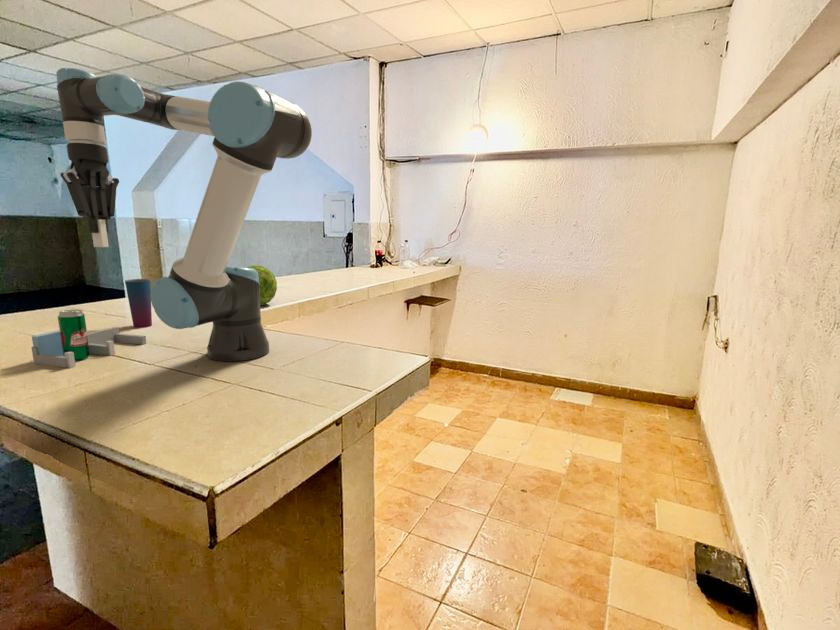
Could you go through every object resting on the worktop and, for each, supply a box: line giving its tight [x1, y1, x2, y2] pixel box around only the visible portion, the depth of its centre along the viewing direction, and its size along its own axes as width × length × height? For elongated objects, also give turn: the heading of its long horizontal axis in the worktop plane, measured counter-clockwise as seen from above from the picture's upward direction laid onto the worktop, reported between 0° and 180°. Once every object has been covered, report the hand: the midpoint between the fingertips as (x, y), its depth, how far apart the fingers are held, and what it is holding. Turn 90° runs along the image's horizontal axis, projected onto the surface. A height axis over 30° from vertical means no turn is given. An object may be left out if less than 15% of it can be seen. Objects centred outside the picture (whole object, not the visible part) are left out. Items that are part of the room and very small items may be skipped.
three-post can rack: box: [30, 326, 147, 369], centre depth 109 cm, size 11×22×6 cm, turn 167°
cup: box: [124, 278, 153, 329], centre depth 137 cm, size 7×7×15 cm
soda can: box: [57, 309, 91, 362], centre depth 104 cm, size 5×5×12 cm
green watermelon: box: [246, 265, 278, 306], centre depth 180 cm, size 17×23×16 cm
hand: (101, 246), depth 104 cm, fingers closed
